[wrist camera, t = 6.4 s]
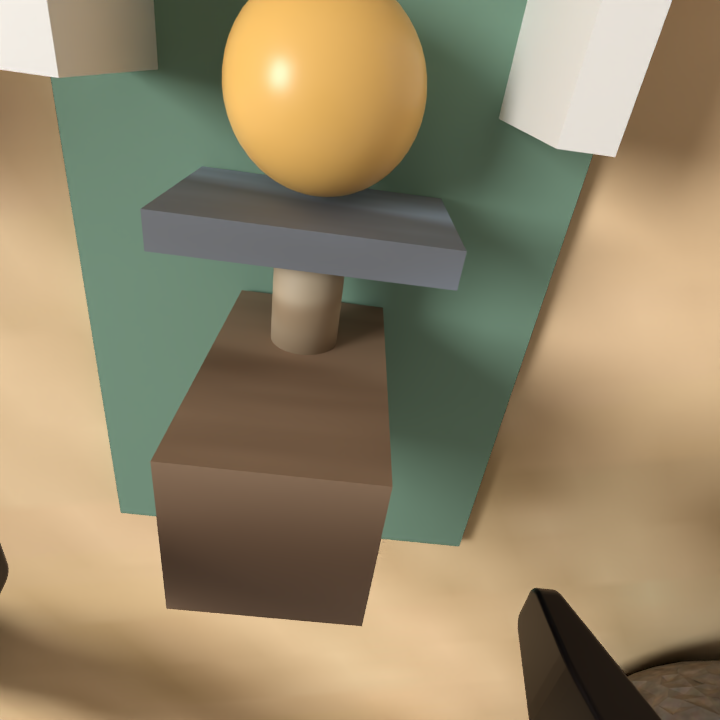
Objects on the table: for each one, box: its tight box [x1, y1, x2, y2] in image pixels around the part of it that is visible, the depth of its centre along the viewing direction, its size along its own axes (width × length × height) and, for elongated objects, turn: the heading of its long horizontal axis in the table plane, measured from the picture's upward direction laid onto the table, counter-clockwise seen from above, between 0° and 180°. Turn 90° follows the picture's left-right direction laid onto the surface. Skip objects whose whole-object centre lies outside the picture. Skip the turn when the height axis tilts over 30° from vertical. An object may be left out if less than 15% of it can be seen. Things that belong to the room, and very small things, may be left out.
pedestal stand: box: [140, 166, 467, 626], centre depth 12 cm, size 7×6×7 cm
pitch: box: [51, 0, 593, 546], centre depth 15 cm, size 21×13×1 cm, turn 173°
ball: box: [222, 0, 427, 197], centre depth 10 cm, size 4×4×4 cm
